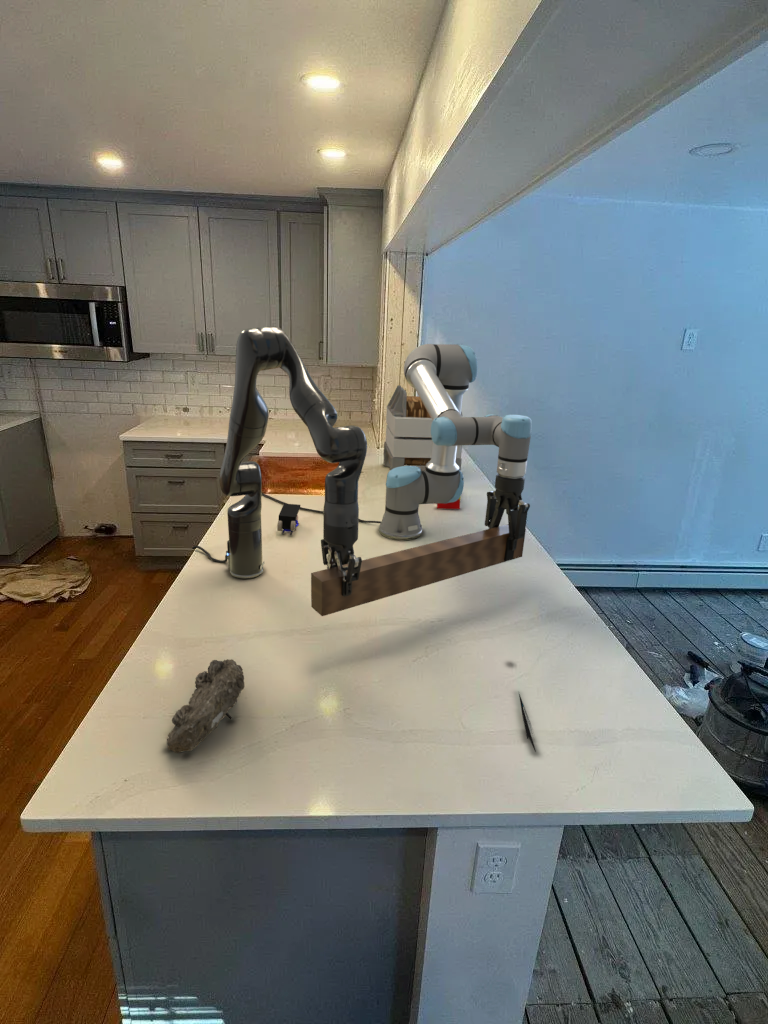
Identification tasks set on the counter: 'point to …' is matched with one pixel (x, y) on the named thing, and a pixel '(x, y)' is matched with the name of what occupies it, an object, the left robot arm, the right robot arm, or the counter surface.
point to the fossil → (206, 705)
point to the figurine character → (288, 518)
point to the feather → (526, 723)
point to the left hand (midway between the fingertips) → (340, 589)
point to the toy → (450, 505)
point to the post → (411, 569)
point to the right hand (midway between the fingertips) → (500, 556)
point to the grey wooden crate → (409, 432)
